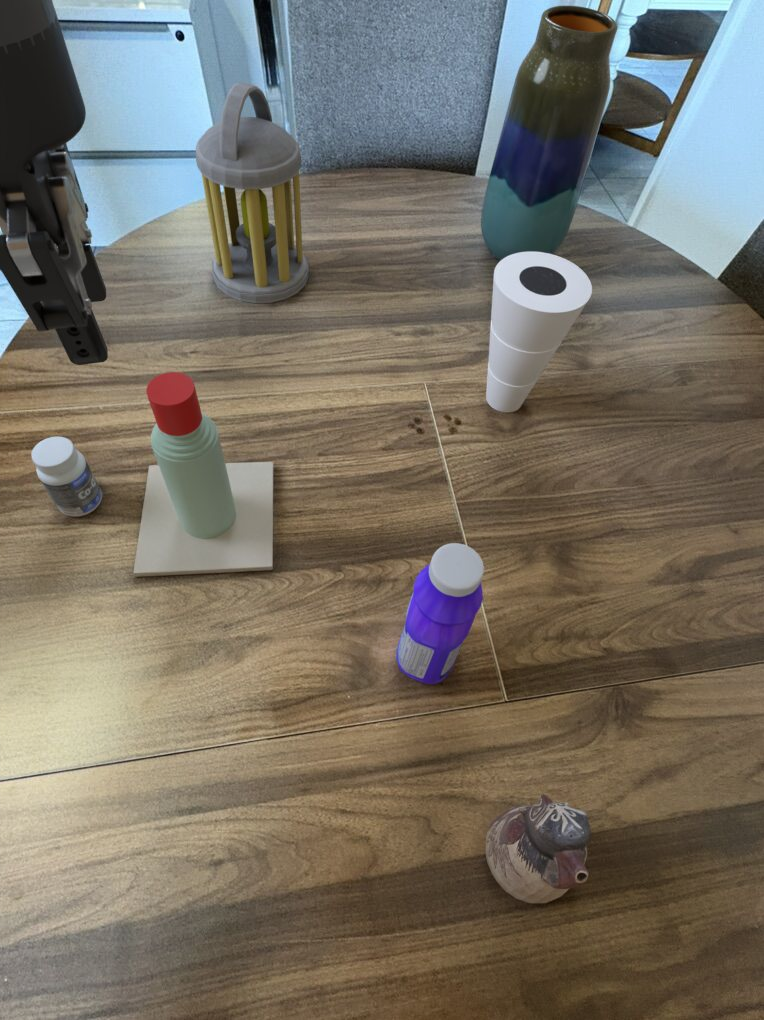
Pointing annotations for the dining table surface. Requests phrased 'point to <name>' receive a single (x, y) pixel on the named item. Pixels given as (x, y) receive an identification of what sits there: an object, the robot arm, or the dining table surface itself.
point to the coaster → (232, 551)
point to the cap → (174, 403)
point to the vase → (548, 133)
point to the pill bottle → (66, 476)
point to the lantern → (253, 201)
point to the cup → (529, 321)
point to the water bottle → (196, 479)
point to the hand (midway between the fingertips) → (90, 327)
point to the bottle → (440, 613)
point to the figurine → (539, 850)
